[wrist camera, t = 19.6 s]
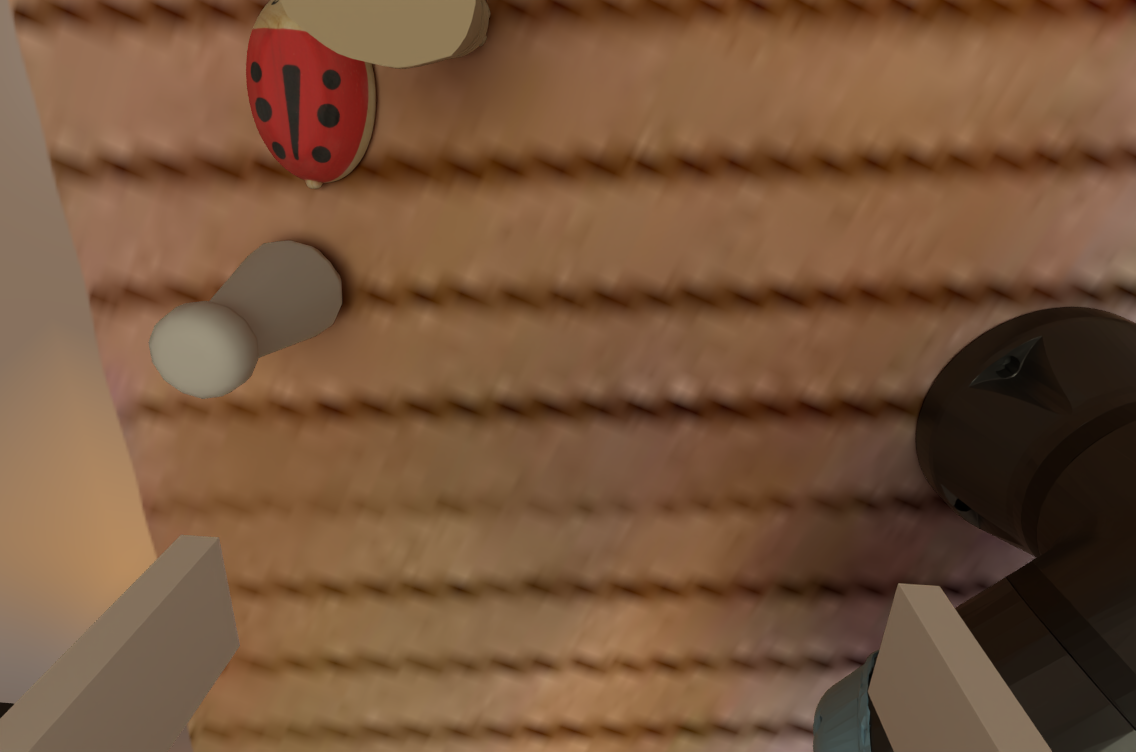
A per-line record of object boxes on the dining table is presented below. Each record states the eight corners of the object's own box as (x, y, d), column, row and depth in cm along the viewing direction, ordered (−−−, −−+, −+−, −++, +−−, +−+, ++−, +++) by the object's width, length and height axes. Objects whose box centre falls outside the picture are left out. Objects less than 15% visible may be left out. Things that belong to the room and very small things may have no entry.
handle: (405, -48, 34) (276, -138, 20) (530, -17, 34) (487, -85, 20) (394, 56, 36) (270, 38, 22) (512, 84, 36) (463, 84, 22)
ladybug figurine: (373, -8, 35) (350, -18, 31) (386, 188, 39) (367, 197, 35) (245, -13, 35) (209, -23, 32) (271, 183, 39) (242, 192, 36)
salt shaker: (310, 212, 39) (187, 269, 27) (374, 292, 41) (284, 377, 29) (239, 267, 41) (93, 343, 29) (304, 341, 42) (192, 442, 30)
